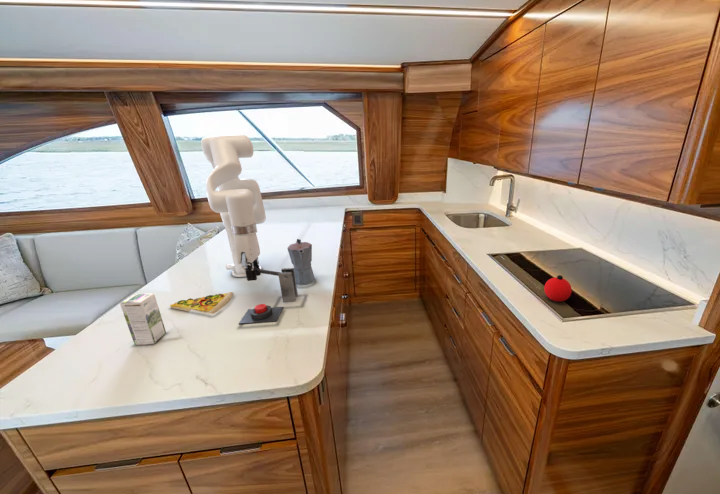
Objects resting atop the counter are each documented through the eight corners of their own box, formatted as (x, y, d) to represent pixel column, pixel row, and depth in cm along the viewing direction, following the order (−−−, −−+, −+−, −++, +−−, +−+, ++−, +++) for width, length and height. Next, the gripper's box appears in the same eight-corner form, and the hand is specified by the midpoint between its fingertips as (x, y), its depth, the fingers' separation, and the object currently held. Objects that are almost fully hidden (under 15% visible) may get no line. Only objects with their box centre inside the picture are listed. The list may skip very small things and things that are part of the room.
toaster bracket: (274, 308, 108) (268, 276, 104) (280, 296, 116) (275, 266, 112) (302, 306, 109) (297, 275, 105) (306, 295, 117) (302, 265, 113)
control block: (239, 328, 97) (237, 318, 96) (249, 313, 105) (247, 304, 104) (277, 325, 98) (275, 315, 97) (284, 310, 106) (282, 302, 105)
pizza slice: (218, 316, 104) (216, 308, 103) (156, 319, 102) (153, 312, 101) (237, 295, 118) (236, 288, 117) (183, 297, 117) (181, 290, 116)
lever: (245, 275, 105) (246, 266, 104) (249, 271, 108) (249, 263, 107) (289, 281, 108) (290, 273, 107) (291, 277, 111) (292, 270, 110)
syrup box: (148, 334, 94) (133, 293, 89) (167, 333, 95) (154, 292, 90) (134, 345, 89) (118, 303, 84) (155, 344, 89) (140, 302, 84)
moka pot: (295, 292, 119) (288, 245, 113) (290, 278, 132) (283, 235, 125) (319, 287, 123) (314, 241, 117) (311, 274, 136) (306, 232, 130)
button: (253, 314, 99) (252, 309, 98) (257, 308, 102) (256, 304, 101) (265, 313, 99) (264, 308, 98) (268, 307, 102) (267, 303, 102)
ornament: (571, 308, 106) (576, 282, 102) (543, 303, 109) (547, 279, 105) (567, 296, 114) (572, 272, 110) (541, 292, 116) (545, 269, 113)
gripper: (242, 223, 109) (251, 269, 115) (222, 236, 93) (234, 288, 100) (263, 222, 110) (271, 268, 116) (247, 235, 94) (257, 287, 100)
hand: (254, 277), depth 108 cm, fingers closed on lever, 3 cm apart
